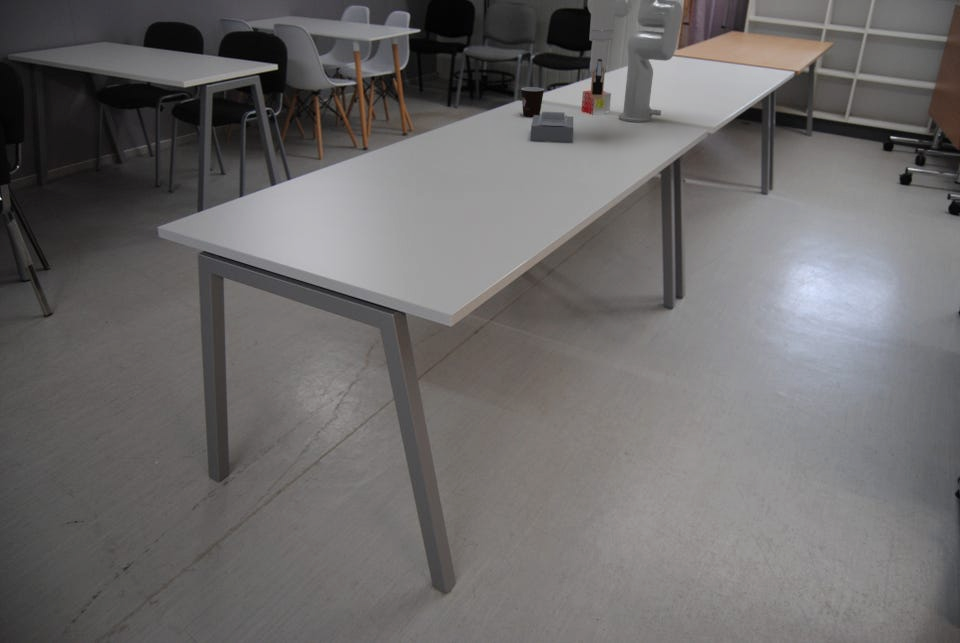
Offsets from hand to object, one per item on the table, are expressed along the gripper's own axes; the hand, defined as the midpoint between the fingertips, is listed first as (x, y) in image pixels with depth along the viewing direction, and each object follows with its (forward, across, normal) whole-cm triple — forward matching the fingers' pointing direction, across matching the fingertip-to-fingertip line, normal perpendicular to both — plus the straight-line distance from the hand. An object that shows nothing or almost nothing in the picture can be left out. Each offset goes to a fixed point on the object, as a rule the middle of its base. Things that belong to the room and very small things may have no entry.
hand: (596, 92), depth 251 cm
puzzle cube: (+16, -42, +2) cm, 45 cm away
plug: (+2, 0, 0) cm, 2 cm away
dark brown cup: (+15, -32, -23) cm, 43 cm away
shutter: (+9, +6, -14) cm, 18 cm away
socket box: (+15, +2, -14) cm, 21 cm away
